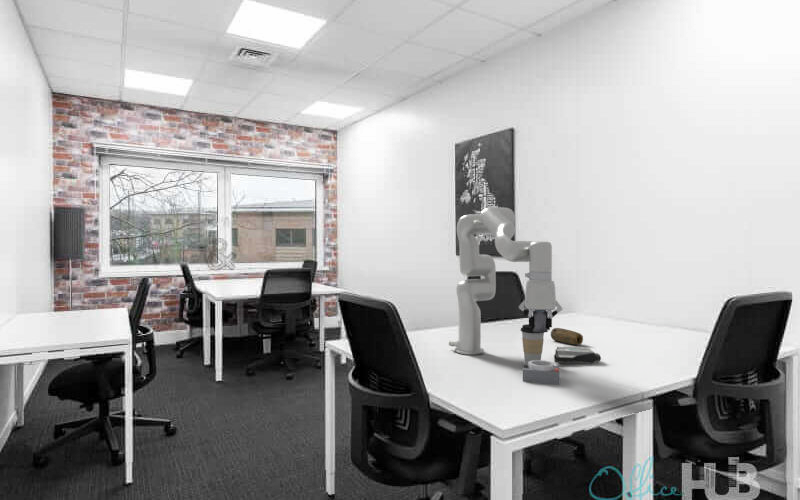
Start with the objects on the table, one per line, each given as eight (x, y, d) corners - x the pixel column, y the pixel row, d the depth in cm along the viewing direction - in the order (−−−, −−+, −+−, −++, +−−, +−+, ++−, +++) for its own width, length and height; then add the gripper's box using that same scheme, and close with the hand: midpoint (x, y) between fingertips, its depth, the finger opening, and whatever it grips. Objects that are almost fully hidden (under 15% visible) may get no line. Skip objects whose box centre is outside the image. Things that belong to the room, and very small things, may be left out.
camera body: (522, 381, 163) (522, 364, 163) (523, 374, 172) (523, 358, 171) (559, 384, 159) (559, 367, 159) (558, 377, 168) (558, 361, 168)
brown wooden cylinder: (548, 341, 230) (548, 327, 230) (557, 339, 234) (557, 326, 234) (576, 347, 218) (576, 332, 218) (584, 345, 222) (584, 331, 222)
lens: (532, 332, 164) (532, 310, 164) (533, 329, 168) (533, 308, 168) (547, 332, 162) (547, 311, 162) (547, 330, 167) (547, 309, 167)
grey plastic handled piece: (605, 364, 187) (605, 351, 187) (557, 366, 183) (557, 353, 183) (581, 355, 203) (581, 343, 203) (537, 357, 199) (537, 344, 199)
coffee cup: (532, 368, 180) (532, 328, 180) (515, 362, 189) (515, 325, 188) (550, 365, 185) (550, 326, 184) (533, 360, 193) (533, 323, 193)
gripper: (514, 277, 164) (514, 329, 164) (566, 278, 159) (566, 332, 159) (516, 275, 171) (516, 326, 171) (565, 276, 166) (565, 328, 166)
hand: (540, 328), depth 165 cm, fingers closed on lens, 5 cm apart
